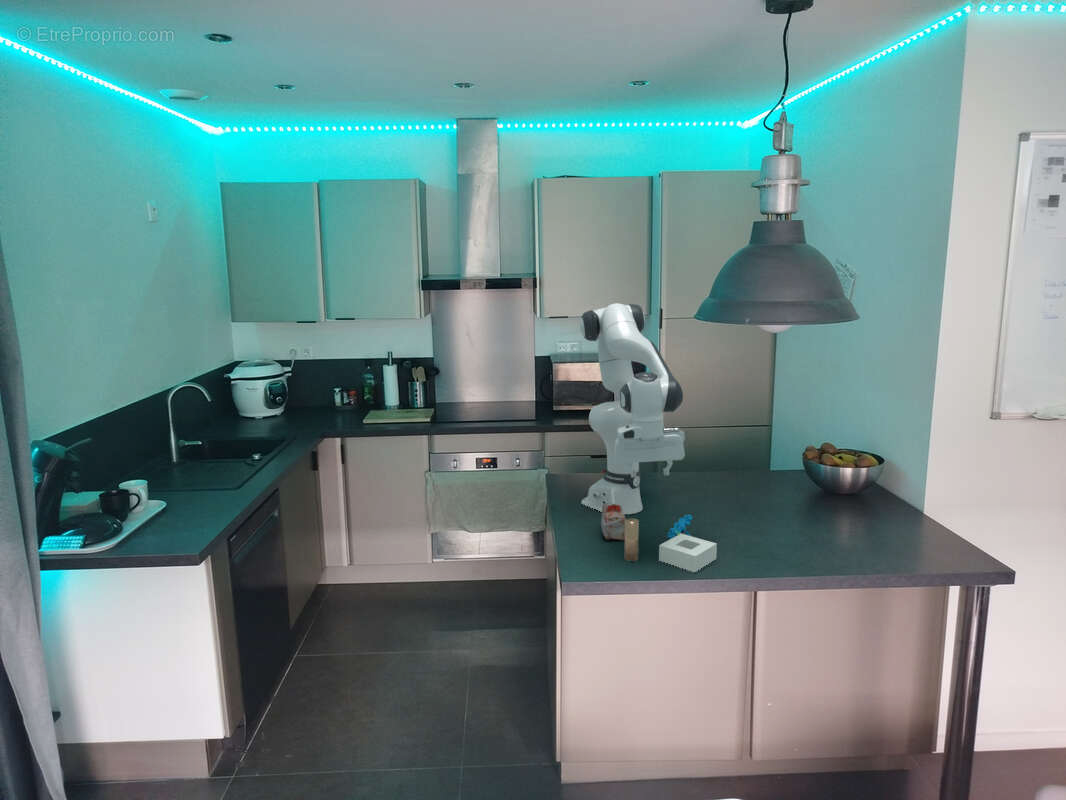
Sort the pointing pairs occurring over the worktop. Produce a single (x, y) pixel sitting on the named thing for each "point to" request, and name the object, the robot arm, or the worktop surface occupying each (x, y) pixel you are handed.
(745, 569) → the worktop surface
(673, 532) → the gear
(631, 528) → the wooden peg
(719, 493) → the worktop surface
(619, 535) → the food item
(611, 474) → the robot arm
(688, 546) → the fitting block
